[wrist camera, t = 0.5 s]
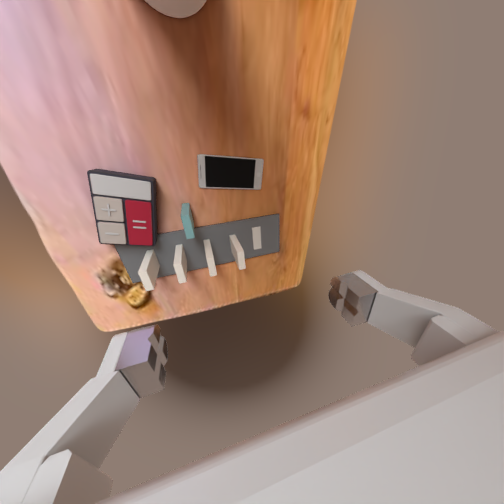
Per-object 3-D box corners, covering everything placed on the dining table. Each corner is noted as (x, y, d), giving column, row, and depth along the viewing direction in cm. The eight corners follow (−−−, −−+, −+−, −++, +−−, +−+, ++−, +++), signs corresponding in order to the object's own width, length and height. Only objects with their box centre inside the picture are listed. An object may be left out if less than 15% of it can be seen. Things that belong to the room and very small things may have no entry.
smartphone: (259, 189, 50) (261, 189, 49) (198, 187, 45) (199, 188, 45) (262, 158, 46) (263, 159, 46) (197, 153, 42) (197, 153, 41)
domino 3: (187, 223, 48) (186, 239, 40) (182, 203, 46) (180, 216, 37) (193, 222, 48) (194, 237, 40) (189, 202, 46) (189, 214, 37)
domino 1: (153, 267, 50) (146, 291, 42) (146, 250, 48) (137, 272, 39) (159, 265, 50) (154, 289, 42) (153, 249, 48) (146, 270, 39)
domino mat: (114, 241, 45) (113, 243, 44) (278, 213, 54) (279, 214, 53) (133, 281, 51) (132, 283, 50) (278, 250, 60) (279, 251, 59)
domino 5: (231, 251, 54) (239, 270, 46) (229, 235, 52) (237, 252, 44) (236, 250, 55) (245, 268, 46) (234, 234, 52) (243, 250, 44)
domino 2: (180, 261, 51) (179, 283, 43) (175, 245, 49) (173, 265, 41) (187, 260, 52) (186, 281, 43) (182, 244, 49) (181, 263, 41)
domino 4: (206, 256, 53) (210, 276, 45) (203, 240, 50) (206, 258, 42) (212, 255, 53) (217, 275, 45) (209, 239, 51) (213, 257, 42)
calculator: (97, 245, 40) (84, 170, 34) (105, 237, 44) (94, 168, 38) (155, 248, 44) (152, 180, 38) (157, 240, 48) (156, 177, 41)
